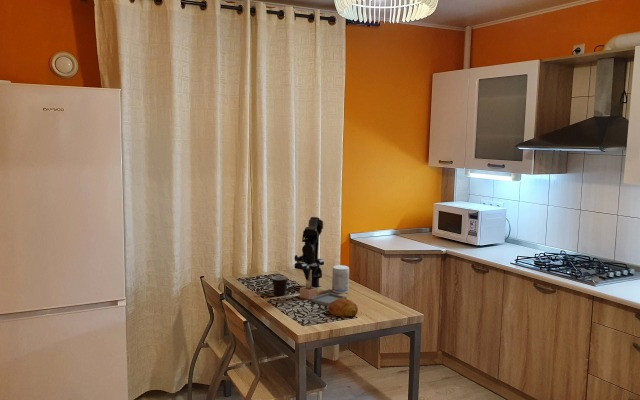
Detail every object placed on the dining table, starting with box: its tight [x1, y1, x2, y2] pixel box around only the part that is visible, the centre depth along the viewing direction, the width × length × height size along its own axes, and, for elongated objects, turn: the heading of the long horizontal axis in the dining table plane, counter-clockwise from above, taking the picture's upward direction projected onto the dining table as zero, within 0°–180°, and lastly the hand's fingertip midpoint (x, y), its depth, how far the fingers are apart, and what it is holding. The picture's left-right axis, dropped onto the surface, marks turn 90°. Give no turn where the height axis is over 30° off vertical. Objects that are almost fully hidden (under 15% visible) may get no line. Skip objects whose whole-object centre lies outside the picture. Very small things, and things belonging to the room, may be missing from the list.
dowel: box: [305, 270, 312, 290], centre depth 280 cm, size 3×3×11 cm
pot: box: [299, 286, 318, 300], centre depth 280 cm, size 7×7×6 cm
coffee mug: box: [271, 275, 289, 297], centre depth 285 cm, size 12×9×10 cm
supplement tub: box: [331, 264, 350, 294], centre depth 293 cm, size 10×10×15 cm
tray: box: [310, 292, 348, 307], centre depth 275 cm, size 16×12×2 cm
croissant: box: [326, 298, 359, 318], centre depth 258 cm, size 14×16×8 cm
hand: (308, 279), depth 279 cm, fingers closed on dowel, 3 cm apart
